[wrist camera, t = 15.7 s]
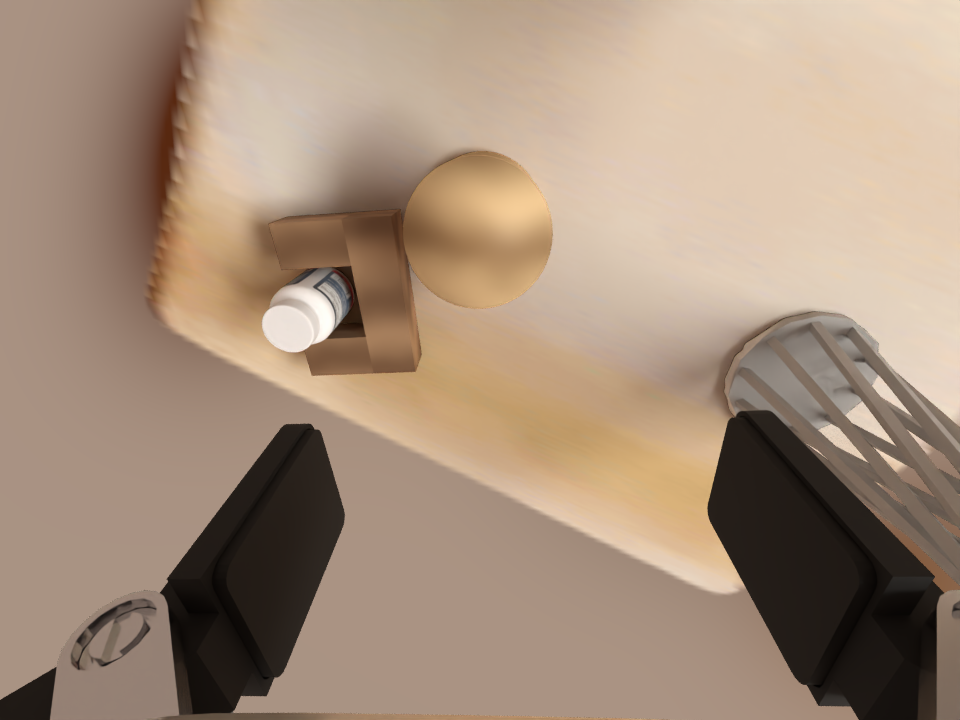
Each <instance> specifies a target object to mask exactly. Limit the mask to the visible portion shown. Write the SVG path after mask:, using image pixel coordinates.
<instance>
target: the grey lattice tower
mask: <svg viewBox="0 0 960 720" xmlns="http://www.w3.org/2000/svg"><path fill="white" fill-rule="evenodd" d="M878 345H879V343H878V342H877V341H876V340H875V339H874V338H873V337H872V336H871V335H870V334H869V333H868V332H867V331H866V330H865V329H864V328H862V327H861V326H859V325H858V324H857V323H856V322H855V321H853V320H852V319H851V318H849V317H847V316H845V315H839V314H831V313H823V312H810V313H806V314H801V315H797V316H792V317H788V318H784V319H783V320H781V321H780V322H778V323H777V324H775V325H773V326H772V327H770V328H769V329H767V330H766V331H764V332H763V333H761V334H760V335H758V336H756V337H755V338H753V339H752V340H750V341H749V342H747V343H746V344H745V345H744V348H743V350H742V351H741V352H739V353H738V354H737V355H735V358H734V360H733V362H732V364H731V367H730V369H729V371H728V373H727V376H726V378H725V386H726V387H725V389H724V393H725V395H726V397H727V400H728V406H729V410H730V411H731V412H732V414H733V415H734V416H735V417H736V415H737V413H738V412H740V411H751V410H769V411H772V412H773V413H774V414H775V415H776V416H777V417H778V418H779V419H780V420H781V421H782V422H783V423H784V424H785V425H786V426H787V427H788V428H789V429H790V430H791V431H792V432H793V433H794V434H795V435H796V436H797V437H798V438H799V439H800V440H801V441H802V442H803V443H804V442H805V443H806V444H805V443H804V444H805V445H806V446H807V447H808V448H809V449H810V450H811V451H812V452H813V453H814V454H815V455H816V456H817V457H818V458H819V459H820V460H821V461H822V462H823V463H824V464H825V465H826V466H827V467H828V468H829V470H830V471H831V472H832V473H833V474H834V475H835V476H836V477H837V478H838V479H839V480H840V481H841V482H842V483H843V484H844V485H845V486H846V487H847V488H848V489H849V490H850V491H851V492H852V493H853V494H854V495H855V496H856V497H857V498H858V499H859V500H861V501H862V502H863V503H865V504H866V505H867V506H869V507H870V508H871V509H873V510H874V511H875V512H877V513H878V514H879V515H881V516H882V517H883V518H884V519H886V520H887V521H888V522H890V523H891V524H893V525H894V526H895V527H896V528H898V529H899V530H901V531H902V532H903V533H904V534H906V535H907V536H908V537H909V538H911V540H913V541H914V542H915V543H916V544H917V545H918V546H919V547H920V548H921V549H922V550H923V551H924V552H925V553H926V554H927V555H928V556H929V557H930V558H931V559H932V560H933V561H935V562H936V563H937V564H938V565H939V566H940V567H941V568H942V569H943V570H944V571H945V572H946V573H947V574H948V575H949V576H950V577H951V578H952V579H953V580H954V581H955V582H956V583H957V584H958V585H960V538H959V537H957V536H955V535H954V534H952V533H950V532H949V531H947V530H946V528H945V527H944V526H943V525H942V524H941V523H940V522H939V521H938V520H937V518H936V517H935V516H934V515H933V514H935V515H937V516H939V517H941V518H942V519H944V520H946V521H948V522H950V523H951V524H953V525H955V526H957V527H958V528H959V529H960V496H959V494H960V480H959V479H957V478H955V477H953V476H952V475H950V474H948V473H946V472H944V471H942V470H940V469H938V468H937V467H936V466H935V464H934V463H933V462H932V461H931V459H930V458H929V457H928V456H927V454H926V453H925V452H924V451H923V449H922V448H921V447H920V446H919V444H918V443H917V442H916V441H915V439H914V438H913V437H912V436H911V434H910V433H909V432H908V431H907V430H909V431H910V432H912V433H913V434H915V435H916V436H918V437H919V438H921V439H922V440H923V441H925V442H926V443H928V444H929V445H931V446H932V447H934V448H935V449H937V450H938V451H940V452H941V453H943V454H944V455H945V456H946V458H947V459H948V460H949V461H950V463H951V464H952V465H953V466H954V468H955V469H956V470H957V471H958V472H959V474H960V427H959V426H958V425H957V424H955V423H954V422H953V421H952V420H951V419H950V418H948V417H947V416H946V415H945V414H944V413H943V412H942V411H940V410H939V409H938V408H937V407H936V406H935V405H933V404H932V403H931V402H930V401H929V400H928V399H926V398H925V397H924V396H923V395H922V394H921V393H920V392H918V391H917V390H916V389H915V388H914V387H913V386H911V385H910V384H909V383H908V382H907V381H906V380H904V379H903V378H902V377H901V376H900V375H899V374H898V373H896V372H895V371H894V370H893V369H892V367H891V366H890V365H889V364H888V363H887V362H886V361H885V359H884V358H883V357H882V356H881V355H880V354H879V353H878ZM877 374H878V375H879V376H880V377H881V378H882V379H883V380H884V382H885V383H886V384H887V385H888V386H889V388H890V389H891V390H892V391H893V393H894V394H895V395H896V396H897V398H898V399H899V400H900V401H901V402H902V404H903V405H904V406H905V407H906V409H907V410H908V411H909V412H910V413H911V415H912V416H913V417H912V416H910V415H909V414H907V413H906V412H904V411H902V410H901V409H899V408H898V407H896V406H894V405H893V404H891V403H890V402H888V401H886V400H885V399H883V398H882V397H880V396H879V394H878V393H877V392H876V391H875V389H874V388H873V387H872V385H873V383H874V381H875V380H876V378H877ZM861 401H863V402H864V404H865V405H866V406H867V408H868V409H869V410H870V412H871V413H872V414H873V416H874V417H875V418H876V420H877V421H878V422H879V423H880V425H881V426H882V427H883V429H884V430H885V431H886V433H887V434H888V435H889V437H890V438H891V439H892V441H893V442H894V443H895V445H896V446H897V447H896V446H894V445H893V444H891V443H889V442H887V441H885V440H883V439H881V438H879V437H877V436H875V435H874V434H872V433H870V432H868V431H866V430H864V429H862V428H860V427H858V426H856V425H854V424H853V423H851V422H850V421H849V419H848V418H847V417H846V416H845V415H846V414H847V413H848V412H849V411H850V410H852V409H853V408H854V407H855V406H857V405H858V404H859V403H860V402H861ZM830 424H833V425H835V426H837V427H838V428H840V429H841V431H842V432H843V433H844V434H845V435H846V436H847V438H848V439H849V440H850V441H851V442H852V444H853V445H854V446H855V447H856V448H857V449H858V451H859V452H860V453H861V454H862V455H863V457H864V458H865V459H866V460H867V461H868V462H869V463H867V462H865V461H863V460H861V459H859V458H857V457H856V456H854V455H852V454H850V453H848V452H846V451H844V450H842V449H840V448H838V447H836V446H835V445H834V444H833V443H832V442H830V441H829V440H828V439H827V438H826V437H825V436H824V435H823V434H822V433H821V432H819V431H818V430H819V429H821V428H823V427H825V426H827V425H830ZM807 444H808V445H810V446H812V447H814V448H815V449H817V450H818V451H820V452H821V453H822V454H823V455H824V456H825V457H826V458H827V459H828V460H827V459H826V458H825V457H823V456H822V455H821V454H819V453H818V452H816V451H815V450H814V449H812V448H811V447H810V446H808V445H807ZM873 447H875V448H876V449H878V450H880V451H882V452H884V453H885V454H887V455H889V456H891V457H893V458H895V459H896V460H898V461H900V462H902V463H904V464H905V465H907V466H909V467H911V468H913V469H914V470H915V471H916V472H917V474H918V475H919V476H920V478H921V479H922V480H923V482H924V483H925V484H926V485H927V487H928V488H929V490H930V491H931V492H932V494H933V495H934V496H935V497H933V496H931V495H929V494H927V493H925V492H923V491H921V490H919V489H918V488H916V487H914V486H912V485H910V484H908V483H906V482H904V481H903V480H902V479H901V478H900V477H899V476H898V475H897V473H896V472H895V471H894V470H893V469H892V468H891V467H890V466H889V464H888V463H887V462H886V461H885V460H884V459H883V458H882V457H881V455H880V454H879V453H878V452H877V451H876V450H875V449H874V448H873ZM876 482H877V483H879V484H881V485H883V486H884V487H886V488H888V489H890V490H892V491H893V492H894V493H895V494H896V495H897V497H898V498H899V499H900V500H901V501H902V502H903V504H904V505H905V506H904V505H903V504H901V503H899V502H898V501H896V500H894V499H893V498H892V497H891V496H890V495H889V494H888V493H887V492H885V491H884V490H883V489H882V488H881V487H880V486H879V485H878V484H877V483H876ZM931 512H932V513H933V514H932V513H931Z"/></svg>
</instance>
